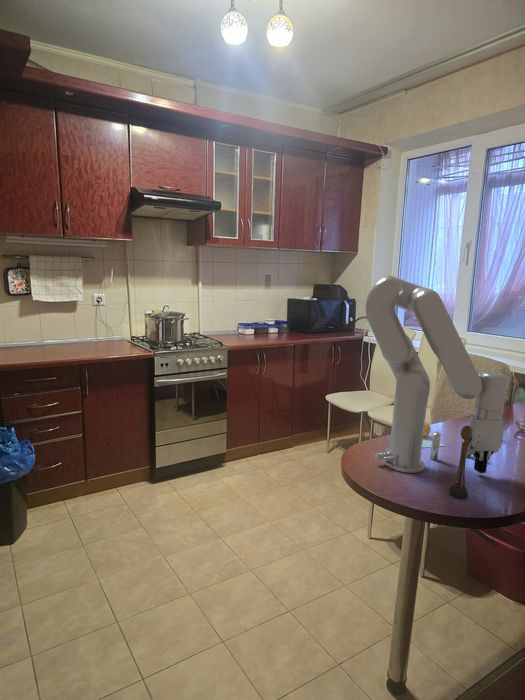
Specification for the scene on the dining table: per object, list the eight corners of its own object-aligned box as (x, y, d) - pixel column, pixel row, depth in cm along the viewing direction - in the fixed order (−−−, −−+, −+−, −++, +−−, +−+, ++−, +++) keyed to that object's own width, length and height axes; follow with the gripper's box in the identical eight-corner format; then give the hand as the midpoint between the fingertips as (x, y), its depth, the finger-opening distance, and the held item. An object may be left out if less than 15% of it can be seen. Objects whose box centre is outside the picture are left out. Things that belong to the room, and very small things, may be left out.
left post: (432, 460, 143) (436, 434, 142) (428, 457, 146) (431, 432, 144) (439, 460, 144) (442, 434, 142) (434, 457, 146) (437, 431, 145)
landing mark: (421, 448, 154) (421, 447, 154) (404, 437, 163) (404, 436, 163) (445, 446, 156) (445, 445, 156) (428, 435, 166) (428, 435, 166)
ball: (411, 438, 166) (420, 438, 160) (409, 421, 167) (417, 421, 161) (425, 436, 167) (435, 436, 162) (423, 420, 168) (432, 419, 163)
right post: (466, 458, 147) (469, 432, 145) (461, 455, 149) (464, 429, 148) (472, 457, 148) (476, 432, 146) (467, 454, 150) (470, 429, 148)
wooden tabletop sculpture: (454, 487, 126) (463, 420, 122) (471, 494, 123) (481, 425, 119) (446, 494, 121) (455, 425, 118) (463, 501, 118) (473, 430, 115)
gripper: (499, 408, 136) (490, 464, 140) (458, 410, 132) (450, 467, 136) (518, 416, 129) (509, 474, 132) (476, 418, 125) (467, 478, 128)
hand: (479, 471), depth 134 cm, fingers closed
